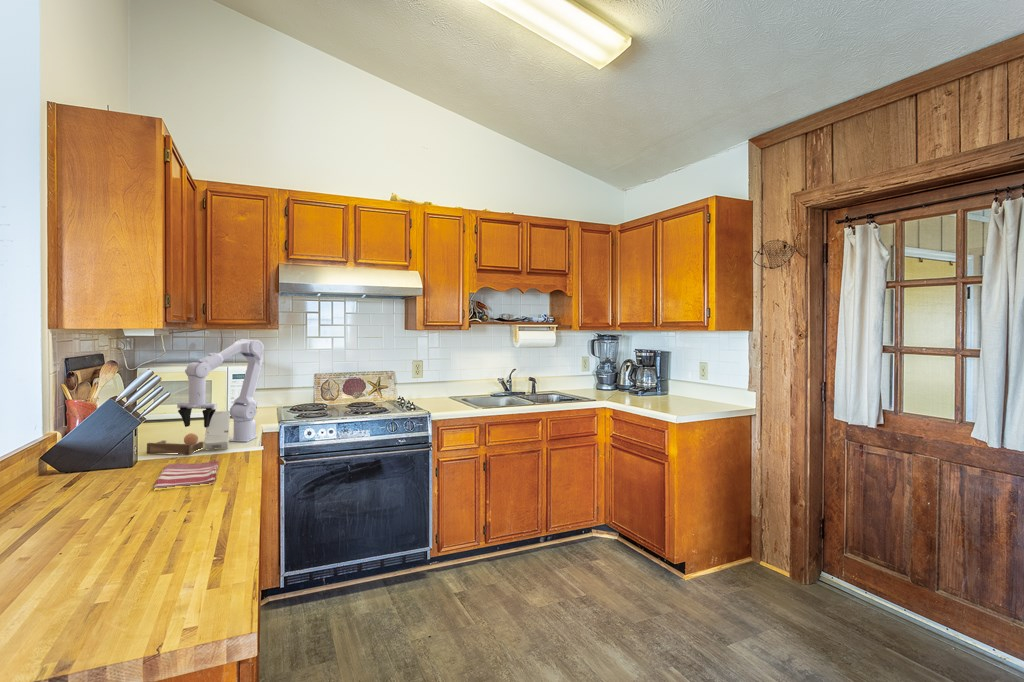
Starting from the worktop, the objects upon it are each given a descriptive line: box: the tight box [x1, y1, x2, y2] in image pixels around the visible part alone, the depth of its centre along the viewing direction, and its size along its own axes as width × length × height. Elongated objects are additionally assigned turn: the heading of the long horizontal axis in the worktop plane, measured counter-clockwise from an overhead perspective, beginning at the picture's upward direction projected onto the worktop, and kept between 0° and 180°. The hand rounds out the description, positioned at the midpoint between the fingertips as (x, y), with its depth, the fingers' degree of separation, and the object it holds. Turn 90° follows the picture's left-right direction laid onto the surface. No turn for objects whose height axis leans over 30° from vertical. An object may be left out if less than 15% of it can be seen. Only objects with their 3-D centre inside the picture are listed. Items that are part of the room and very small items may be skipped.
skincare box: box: [204, 410, 231, 450], centre depth 205 cm, size 8×6×15 cm
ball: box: [183, 432, 199, 445], centre depth 207 cm, size 5×5×5 cm
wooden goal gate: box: [146, 439, 204, 456], centre depth 198 cm, size 9×17×4 cm, turn 90°
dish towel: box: [153, 460, 220, 489], centre depth 169 cm, size 17×23×3 cm
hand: (197, 426), depth 200 cm, fingers open, 7 cm apart
